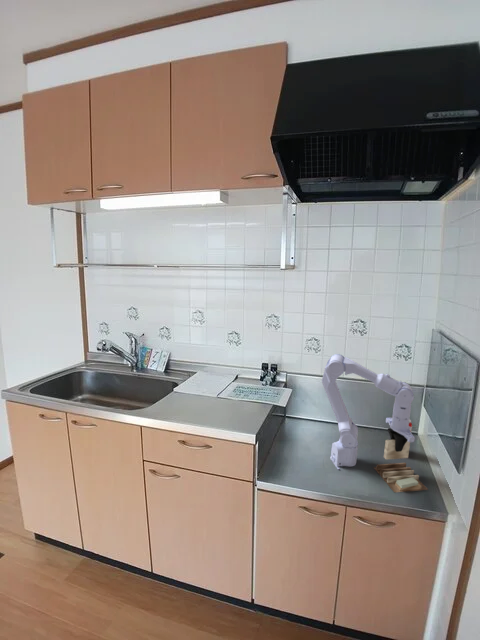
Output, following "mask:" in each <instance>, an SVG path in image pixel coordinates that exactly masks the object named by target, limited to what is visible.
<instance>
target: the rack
mask: <svg viewBox="0 0 480 640" xmlns="http://www.w3.org/2000/svg"><path fill="white" fill-rule="evenodd" d="M373 469H374V470H375V471H376V473H377V474H378V475H379V476H380V477H381V478H382V480H383V481H384V482H385V483H386V484H387V486H388V487H389V488H390V489H391V490H392V492H393V493H405V492H406V493H407V492H415V491H429V488H428V487H427V486H426V485H424V483H423V482H422V481H420V479H419V478H420V475H419V474H415V470H414V469H412V468H411V466H407V462H393V463H392V462H391V463H382V464H380V463H379V464H376V466H373ZM412 477H413V478H414V479H415V480H417V481H418V483H419V484H420V485H421V489H417V490H405V491H400V490H399V489H398V488H397V487H396V485H395V482H397V480H402V479H407V478H412Z"/></svg>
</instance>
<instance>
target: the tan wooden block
mask: <svg viewBox="0 0 480 640" xmlns="http://www.w3.org/2000/svg"><path fill="white" fill-rule="evenodd" d="M410 446H411V442H408V441H407V442H406V443H405V445H404V447H403V449H402V451H400V452H396V450H395V440H391V439H386V440H385V444H384V452H383V458H384V459H385V460H397V459H398V460H399V459H408V458H409V454H410Z"/></svg>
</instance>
